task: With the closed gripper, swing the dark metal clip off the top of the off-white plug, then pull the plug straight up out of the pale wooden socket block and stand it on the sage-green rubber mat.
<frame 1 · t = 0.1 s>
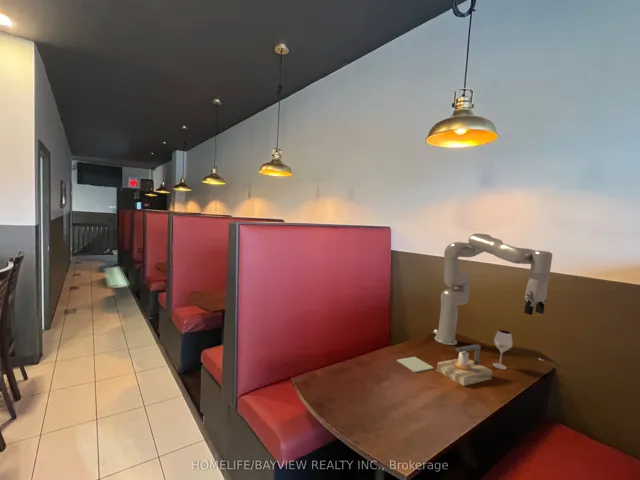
hand: (533, 313, 144), 31 cm above the table, tool pointing down, fingers open, 9 cm apart
wineglass: (499, 366, 156), on the table
mat: (414, 364, 148), on the table
plug: (461, 375, 142), resting in socket block
clip: (467, 356, 143), point 9 cm above the table, hinge at 0.0°
socket block: (463, 374, 143), on the table
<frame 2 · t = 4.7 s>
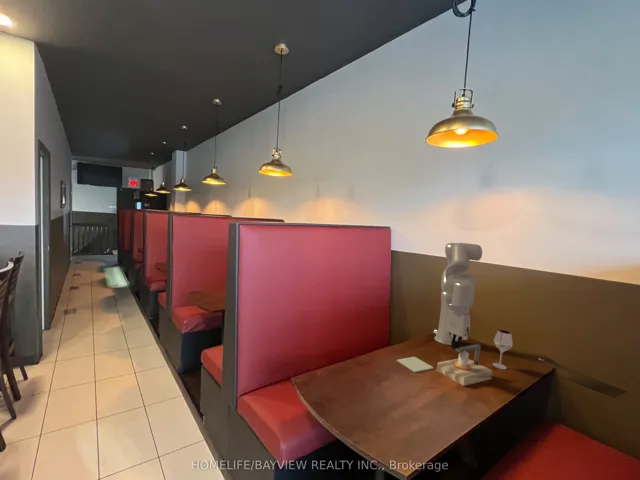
hand: (454, 348, 141), 12 cm above the table, tool pointing down, fingers closed
clip: (467, 356, 143), point 9 cm above the table, hinge at 0.5°, touching gripper
everything else where it was.
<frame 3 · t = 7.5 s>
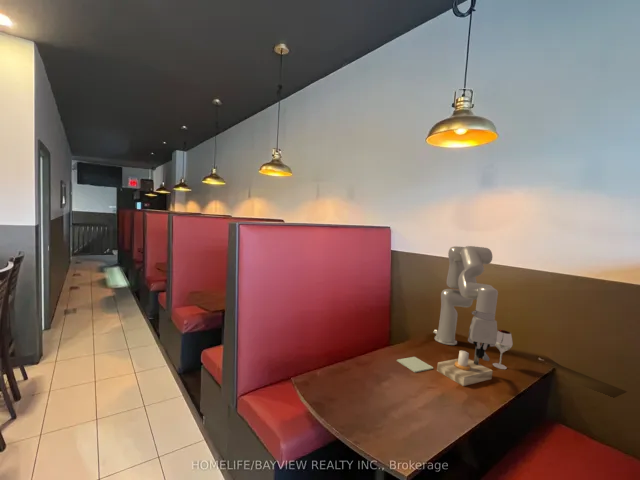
hand: (479, 357, 134), 12 cm above the table, tool pointing down, fingers closed
clip: (480, 360, 139), point 9 cm above the table, hinge at 46.5°, touching gripper
everything else where it was.
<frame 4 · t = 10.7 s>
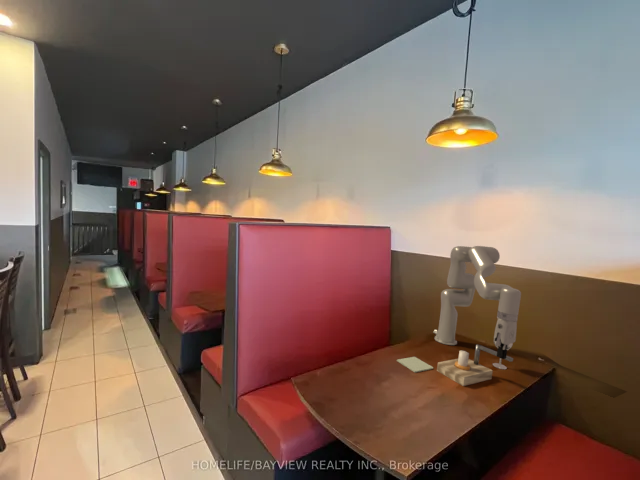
hand: (501, 357, 134), 13 cm above the table, tool pointing down, fingers closed
clip: (492, 360, 140), point 9 cm above the table, hinge at 95.0°
everything else where it was.
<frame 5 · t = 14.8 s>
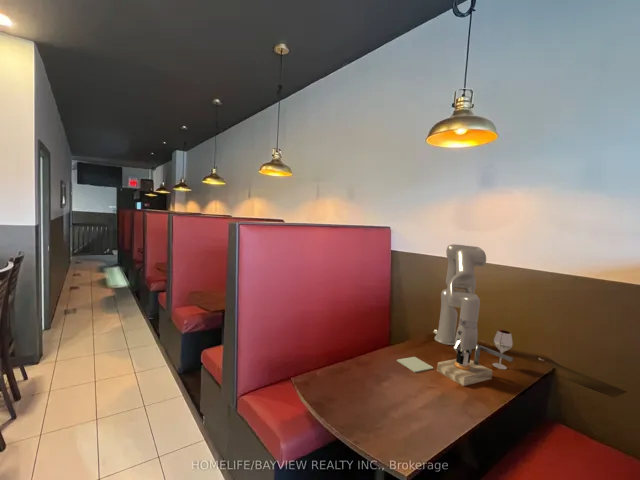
hand: (462, 362, 141), 6 cm above the table, tool pointing down, fingers closed on plug, 4 cm apart
plug: (461, 375, 142), resting in socket block, touching gripper
everything else where it was.
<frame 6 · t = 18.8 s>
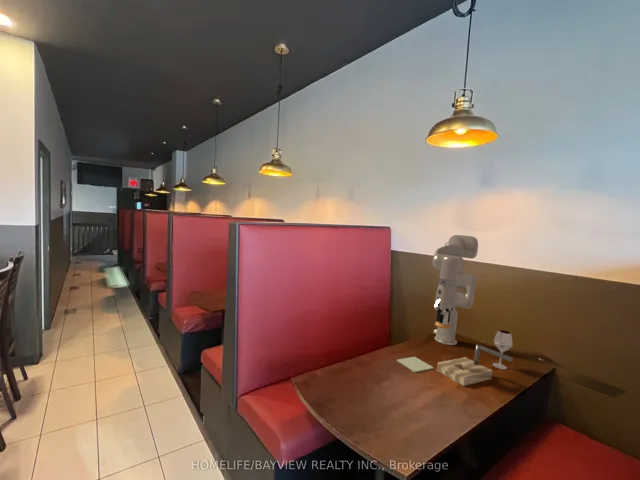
hand: (442, 321, 144), 23 cm above the table, tool pointing down, fingers closed on plug, 4 cm apart
plug: (441, 334, 144), point 17 cm above the table, touching gripper
everything else where it was.
when the fingers open (8 cm above the table, at t = 22.6 s): plug drops 1 cm, resting on mat.
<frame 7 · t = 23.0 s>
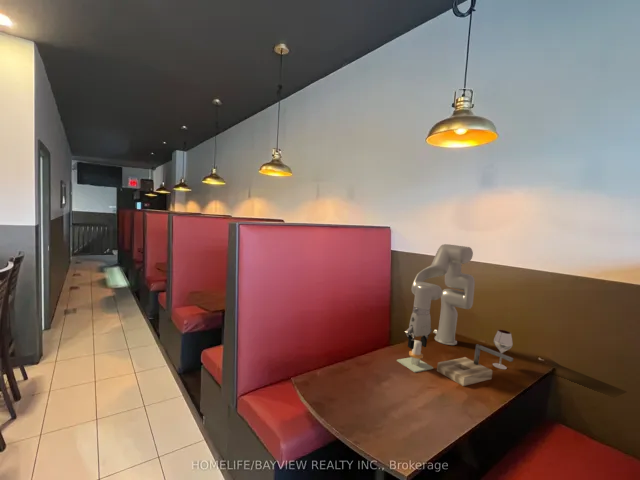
hand: (416, 346, 148), 9 cm above the table, tool pointing down, fingers open, 7 cm apart
plug: (414, 364, 148), resting on mat
everything else where it was.
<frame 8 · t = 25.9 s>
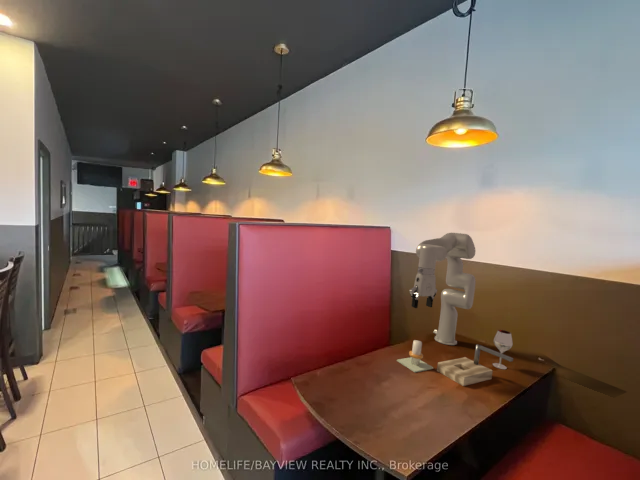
hand: (421, 307, 147), 28 cm above the table, tool pointing down, fingers open, 9 cm apart
nothing on the table moved.
at the end: clip at +95° (first picture: +0°); plug inside the target area on the mat (0.1 cm from its centre), point 0.3 cm above the mat's base; plug tilted 0° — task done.
